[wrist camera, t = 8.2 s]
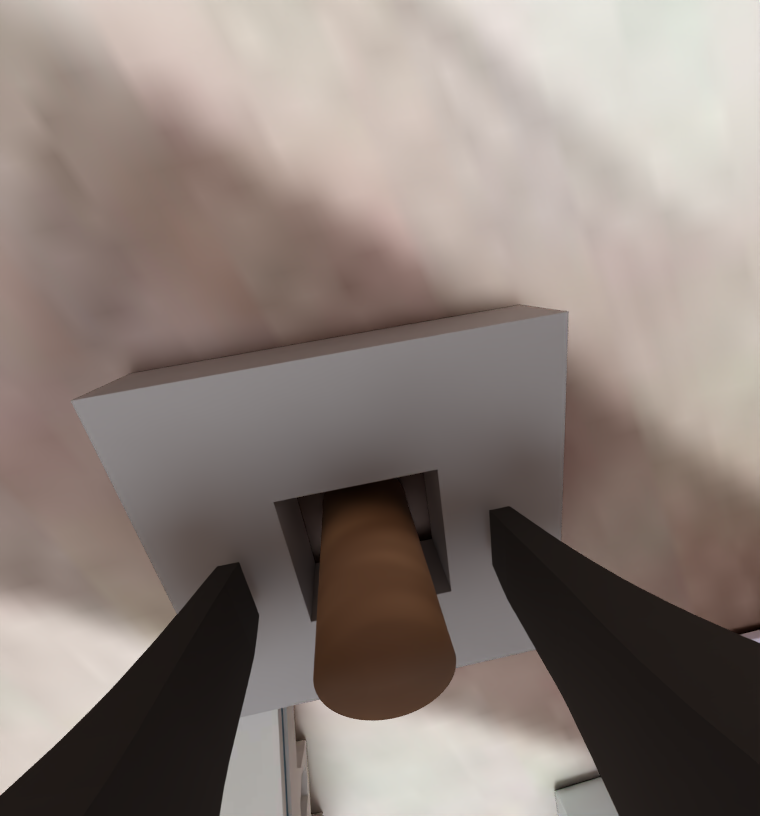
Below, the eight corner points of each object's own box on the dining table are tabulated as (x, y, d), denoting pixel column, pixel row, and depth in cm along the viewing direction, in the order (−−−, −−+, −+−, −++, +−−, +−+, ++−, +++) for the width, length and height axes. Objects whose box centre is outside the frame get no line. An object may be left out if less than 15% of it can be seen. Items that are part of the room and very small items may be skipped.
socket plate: (519, 304, 11) (568, 311, 9) (524, 589, 15) (557, 644, 13) (129, 373, 10) (70, 400, 8) (246, 650, 15) (229, 720, 12)
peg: (395, 457, 12) (443, 603, 7) (411, 525, 14) (465, 697, 8) (313, 479, 12) (293, 644, 7) (336, 545, 13) (335, 734, 8)
